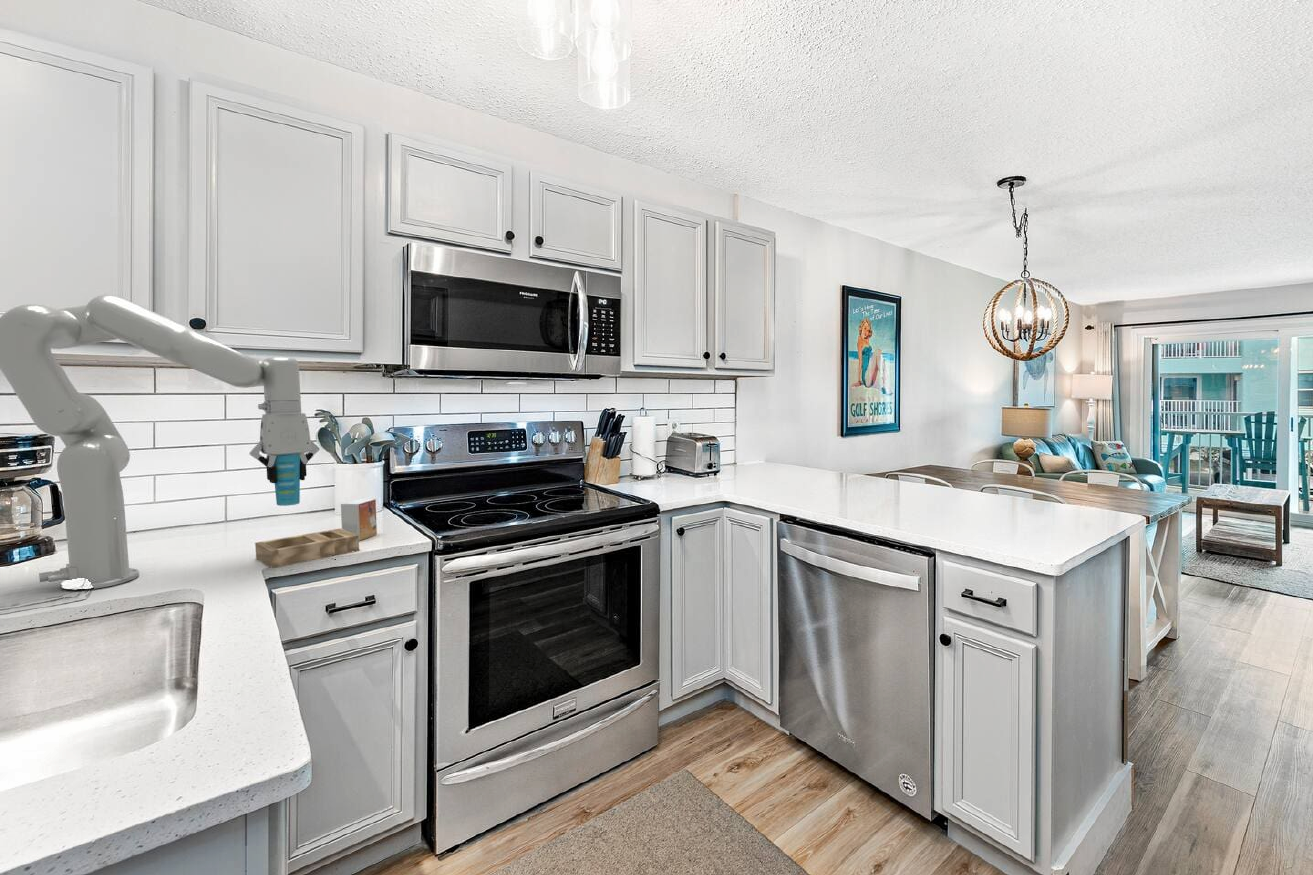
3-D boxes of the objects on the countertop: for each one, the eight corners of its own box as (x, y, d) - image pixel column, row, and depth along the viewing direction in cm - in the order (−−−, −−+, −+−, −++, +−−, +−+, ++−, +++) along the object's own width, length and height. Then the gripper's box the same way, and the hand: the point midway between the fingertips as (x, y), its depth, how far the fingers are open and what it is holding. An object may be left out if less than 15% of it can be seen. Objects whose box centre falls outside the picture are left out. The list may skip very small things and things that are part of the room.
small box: (359, 541, 165) (358, 504, 164) (341, 540, 166) (339, 503, 165) (377, 534, 173) (376, 498, 172) (360, 533, 174) (358, 498, 173)
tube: (271, 507, 144) (266, 428, 143) (270, 504, 148) (266, 427, 147) (306, 504, 149) (302, 427, 147) (305, 500, 153) (301, 426, 151)
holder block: (272, 567, 141) (271, 551, 141) (256, 558, 149) (255, 542, 149) (359, 550, 156) (358, 535, 156) (340, 542, 164) (340, 528, 164)
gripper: (246, 409, 137) (251, 487, 139) (326, 407, 150) (330, 478, 152) (237, 408, 142) (242, 483, 144) (315, 406, 155) (319, 475, 157)
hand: (287, 480), depth 148 cm, fingers closed on tube, 5 cm apart
